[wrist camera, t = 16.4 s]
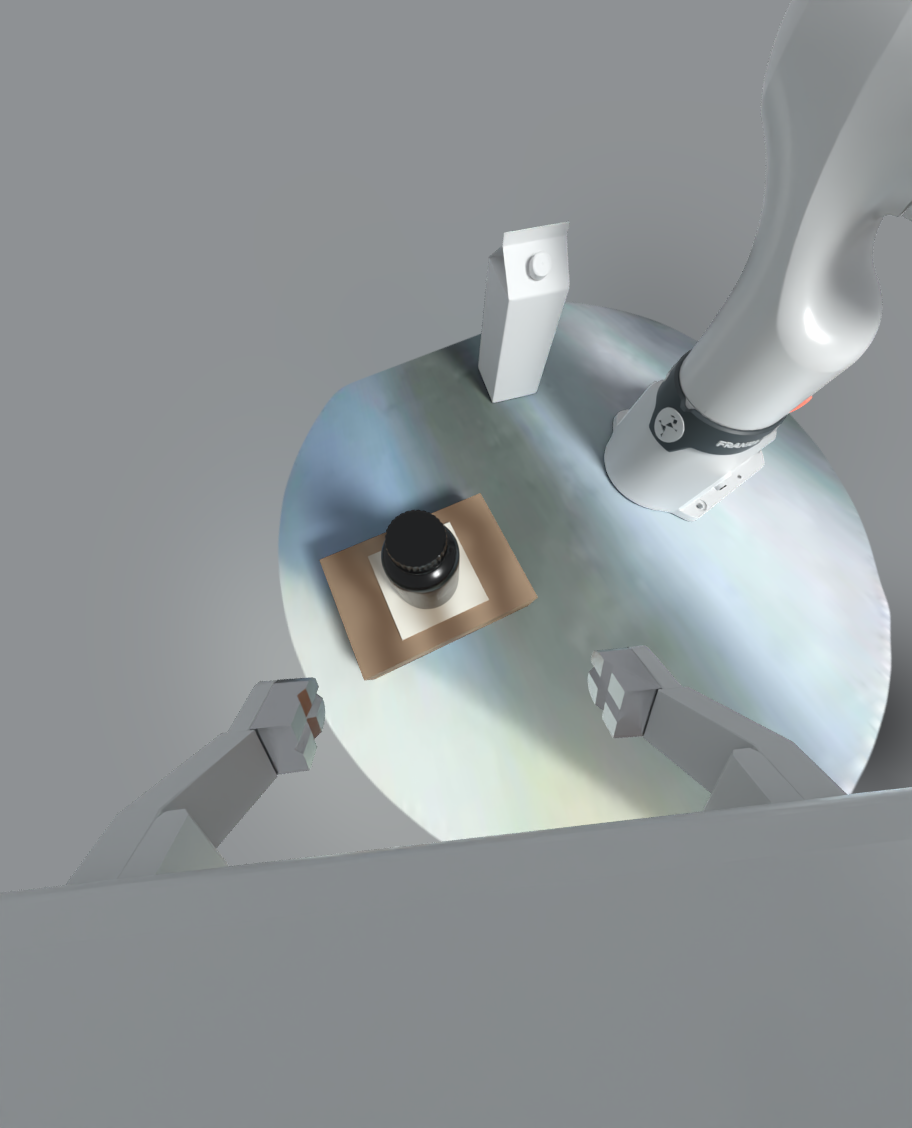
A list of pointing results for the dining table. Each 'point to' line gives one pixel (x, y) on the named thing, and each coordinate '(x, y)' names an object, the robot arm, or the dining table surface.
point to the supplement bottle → (421, 559)
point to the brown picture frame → (406, 633)
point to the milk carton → (522, 309)
